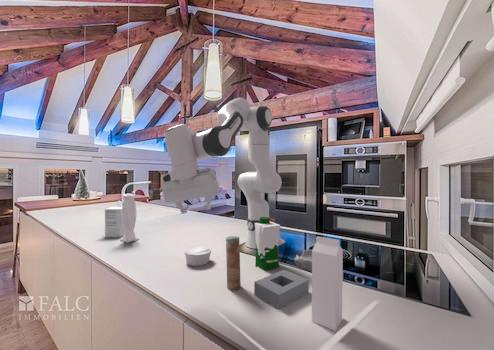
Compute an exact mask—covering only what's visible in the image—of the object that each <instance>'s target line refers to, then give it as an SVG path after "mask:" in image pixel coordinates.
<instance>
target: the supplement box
mask: <svg viewBox="0 0 494 350" xmlns="http://www.w3.org/2000/svg"><path fill="white" fill-rule="evenodd" d="M123 235H124V229H123V223H122V206H110V207H107V208H105V209H104V238H122V237H123ZM121 236H122V237H121Z"/></svg>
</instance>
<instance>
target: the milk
mask: <svg viewBox="0 0 494 350" xmlns="http://www.w3.org/2000/svg"><path fill="white" fill-rule="evenodd" d="M340 245H341V242H340V240H339V239H338V238H337V239H335V238H330V237H326V236H325V237H323V236H318V235H317V236H316V238H315V243H314V246H313V249H311V250H312V272H311V322H312V323H315V324H317V325H319V326H323V327H325V328H327V329H330V330H333V331H335V332H336V331H337V329H338V327H339V325H340V324H341V322H342V320H343V280H344V279H343V277H344V276H343V273H344V272H343V269H344V268H343V266H344V264H343V263H344V261H343V260H344V259H343V255H344V253H343V252H344V250H343V248H342V247H341V246H340Z"/></svg>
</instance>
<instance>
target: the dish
mask: <svg viewBox="0 0 494 350" xmlns="http://www.w3.org/2000/svg"><path fill="white" fill-rule="evenodd" d="M312 250H313V249H305V250H303V251H302V254H301V255H300V256H299V255H298V254H296V255H295V257H294V264H295V265H296V266H297V269H300V270H303V271H306V272H311V273H312Z"/></svg>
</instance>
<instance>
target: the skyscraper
mask: <svg viewBox="0 0 494 350" xmlns="http://www.w3.org/2000/svg"><path fill="white" fill-rule="evenodd" d="M135 198H136V191H134V190H132V191H131V193H124V194H122V200H123V202H122V206H121V207H122V223H123V229H124V235H123V236H122V239H120V240H119V241H120V242H122V241H123V243H127V244H128V243H129V242H130V243H133V242H136V241H140V238H137V237H136V234H135V227H136V222H137V205H136V200H135Z"/></svg>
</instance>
